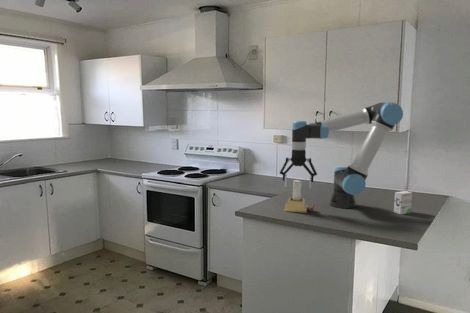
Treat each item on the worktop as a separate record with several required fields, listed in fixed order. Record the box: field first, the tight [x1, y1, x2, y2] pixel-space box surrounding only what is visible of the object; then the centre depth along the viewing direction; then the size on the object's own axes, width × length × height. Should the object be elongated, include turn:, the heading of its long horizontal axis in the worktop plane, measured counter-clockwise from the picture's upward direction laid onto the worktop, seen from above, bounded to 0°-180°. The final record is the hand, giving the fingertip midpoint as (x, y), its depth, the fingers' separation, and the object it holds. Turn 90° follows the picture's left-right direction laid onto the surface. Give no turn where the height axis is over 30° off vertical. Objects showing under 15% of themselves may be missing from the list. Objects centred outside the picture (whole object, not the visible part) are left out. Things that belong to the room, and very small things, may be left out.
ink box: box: [393, 190, 413, 215], centre depth 208 cm, size 9×5×12 cm, turn 116°
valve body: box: [284, 196, 315, 214], centre depth 208 cm, size 16×9×6 cm, turn 76°
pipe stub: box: [292, 180, 302, 201], centre depth 207 cm, size 4×4×14 cm
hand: (297, 187), depth 207 cm, fingers open, 13 cm apart
